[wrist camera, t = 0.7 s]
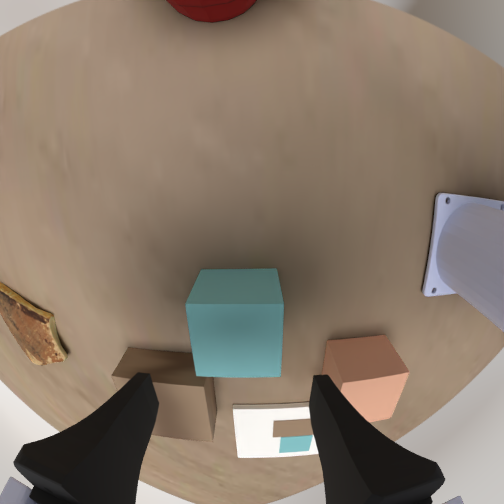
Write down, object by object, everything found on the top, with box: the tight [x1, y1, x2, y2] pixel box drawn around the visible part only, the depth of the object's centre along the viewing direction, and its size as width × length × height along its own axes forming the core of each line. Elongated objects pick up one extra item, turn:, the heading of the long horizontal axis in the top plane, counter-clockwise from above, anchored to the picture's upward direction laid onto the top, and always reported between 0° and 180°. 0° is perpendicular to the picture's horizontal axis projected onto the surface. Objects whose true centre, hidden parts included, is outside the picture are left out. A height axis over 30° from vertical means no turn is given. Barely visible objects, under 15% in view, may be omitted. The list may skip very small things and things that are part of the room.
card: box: [233, 402, 319, 458], centre depth 24 cm, size 12×9×1 cm
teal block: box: [185, 268, 284, 377], centre depth 17 cm, size 5×5×5 cm
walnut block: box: [112, 347, 217, 442], centre depth 20 cm, size 7×7×4 cm
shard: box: [0, 282, 68, 365], centre depth 20 cm, size 11×8×2 cm
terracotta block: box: [322, 335, 410, 422], centre depth 19 cm, size 5×5×5 cm
